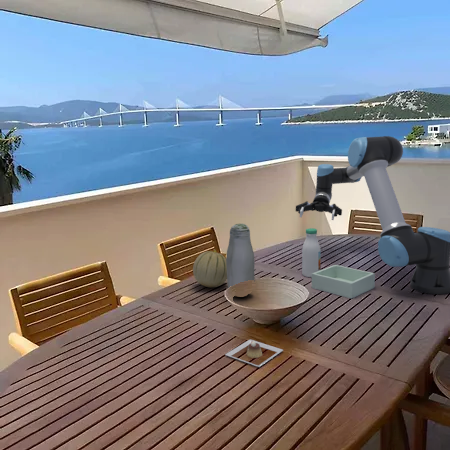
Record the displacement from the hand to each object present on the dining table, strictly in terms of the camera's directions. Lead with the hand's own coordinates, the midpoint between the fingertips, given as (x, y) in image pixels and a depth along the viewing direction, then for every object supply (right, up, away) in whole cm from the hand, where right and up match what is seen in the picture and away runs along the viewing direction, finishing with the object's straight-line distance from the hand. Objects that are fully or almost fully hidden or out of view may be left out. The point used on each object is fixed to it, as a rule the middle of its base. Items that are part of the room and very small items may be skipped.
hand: (316, 215), depth 203 cm
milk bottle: (-2, -25, -1) cm, 26 cm away
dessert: (-31, -41, -69) cm, 86 cm away
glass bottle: (-33, -31, -23) cm, 51 cm away
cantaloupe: (-45, -29, -11) cm, 54 cm away
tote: (+7, -28, -18) cm, 34 cm away
